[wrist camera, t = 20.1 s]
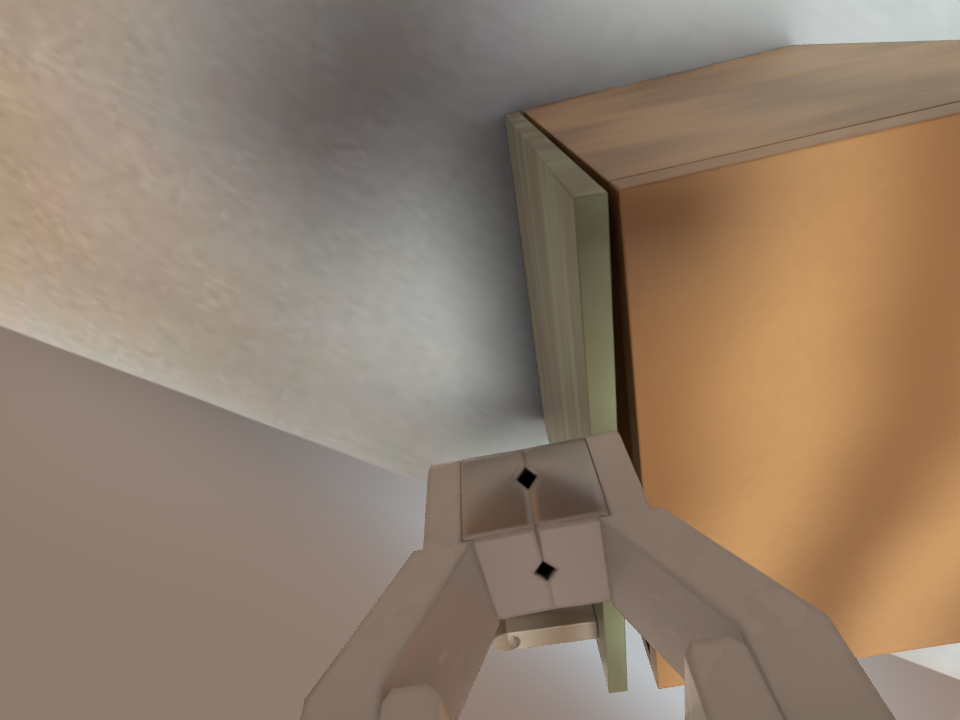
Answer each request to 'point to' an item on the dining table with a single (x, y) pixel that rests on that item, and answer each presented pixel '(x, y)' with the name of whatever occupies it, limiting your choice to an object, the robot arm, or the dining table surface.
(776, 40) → the dining table surface
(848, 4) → the dining table surface
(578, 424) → the door
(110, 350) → the dining table surface
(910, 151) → the cupboard
